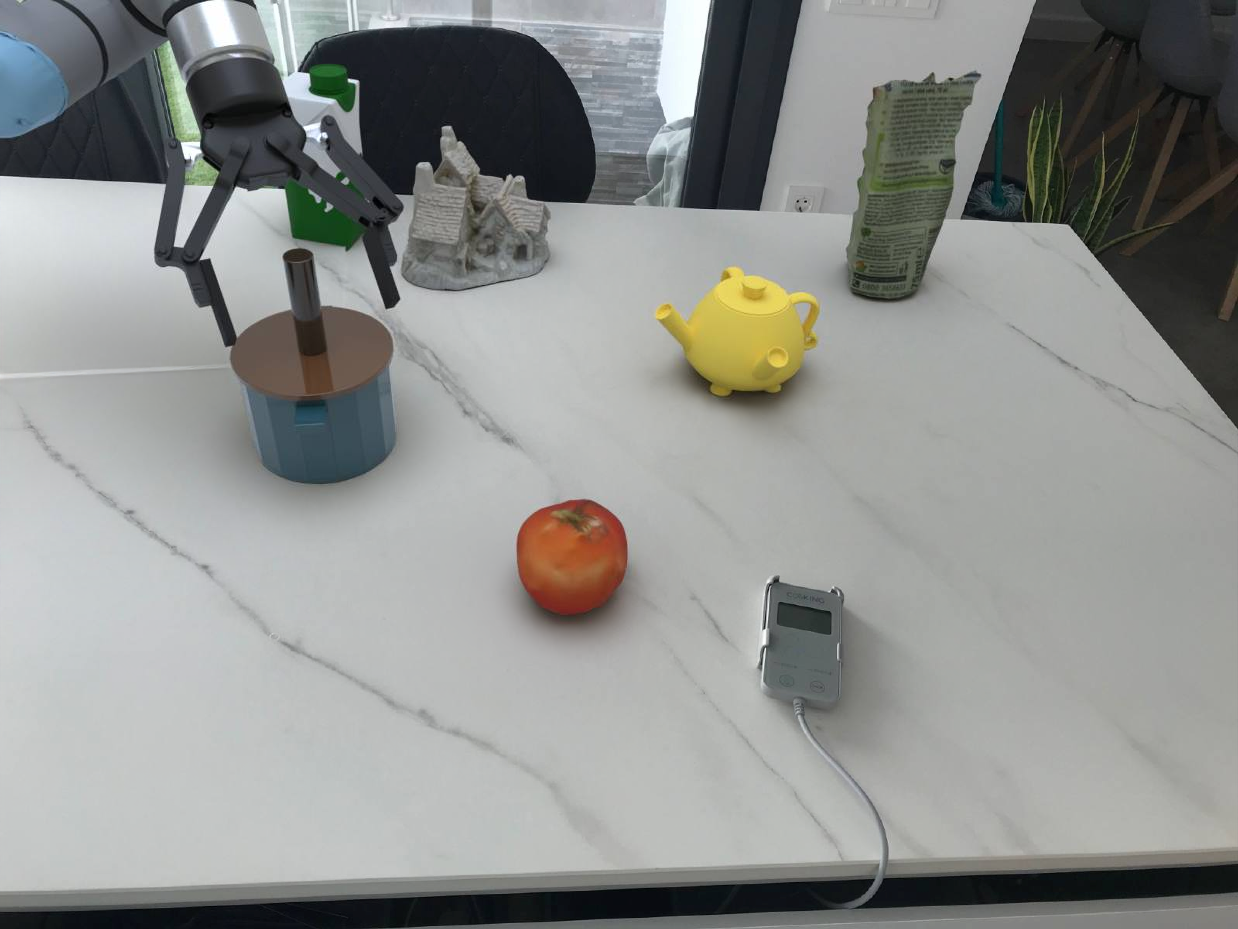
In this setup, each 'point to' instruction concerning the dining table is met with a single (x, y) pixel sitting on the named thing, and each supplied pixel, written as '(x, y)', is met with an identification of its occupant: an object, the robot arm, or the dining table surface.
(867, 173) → the pouch
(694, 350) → the teapot
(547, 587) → the tomato
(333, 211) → the milk carton
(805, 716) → the dining table surface
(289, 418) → the pot
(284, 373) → the lid
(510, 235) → the ceramic cottage
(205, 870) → the dining table surface
